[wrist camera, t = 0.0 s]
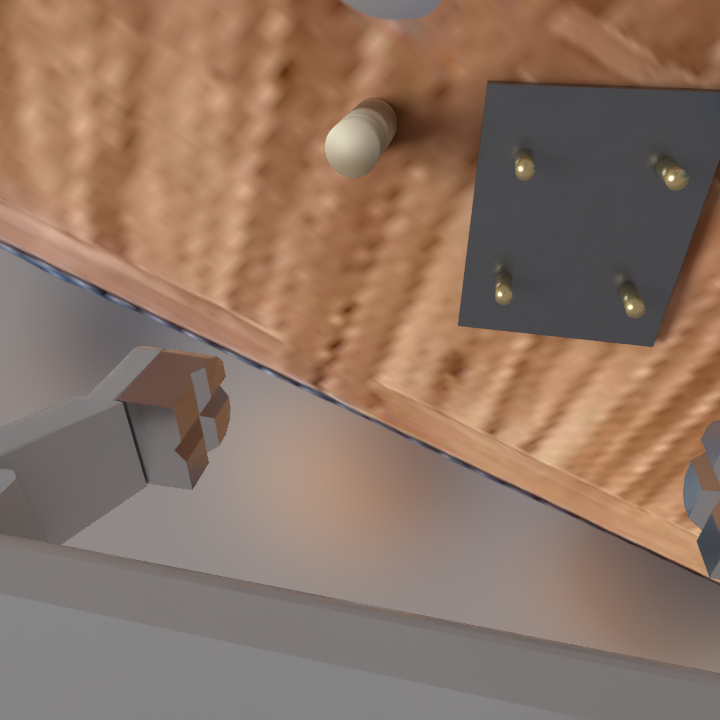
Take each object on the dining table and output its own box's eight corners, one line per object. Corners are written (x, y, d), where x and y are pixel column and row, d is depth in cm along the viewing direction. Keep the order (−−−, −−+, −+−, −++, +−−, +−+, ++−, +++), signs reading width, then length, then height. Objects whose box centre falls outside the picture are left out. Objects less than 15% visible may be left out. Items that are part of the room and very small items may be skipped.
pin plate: (487, 80, 49) (486, 91, 45) (736, 90, 46) (762, 102, 42) (458, 318, 63) (455, 345, 58) (649, 339, 60) (661, 368, 55)
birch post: (351, 97, 52) (324, 119, 44) (398, 99, 52) (379, 122, 44) (351, 146, 55) (325, 175, 47) (396, 149, 54) (378, 179, 46)
